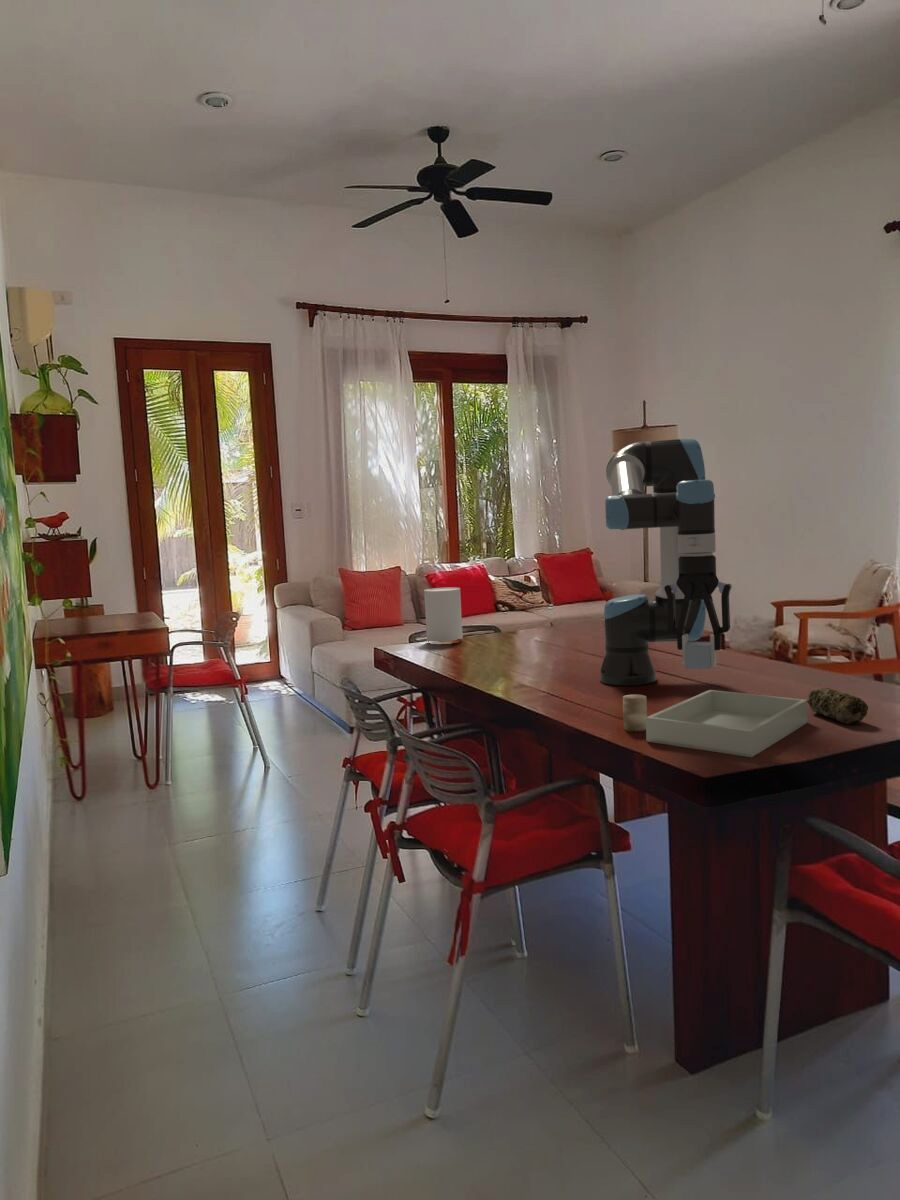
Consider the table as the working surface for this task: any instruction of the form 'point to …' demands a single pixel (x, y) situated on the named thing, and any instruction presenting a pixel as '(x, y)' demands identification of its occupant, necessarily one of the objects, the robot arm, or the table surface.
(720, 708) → the tote
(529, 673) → the table surface
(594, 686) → the table surface
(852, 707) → the coral
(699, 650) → the slate cube
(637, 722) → the beech cylinder
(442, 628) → the canister
